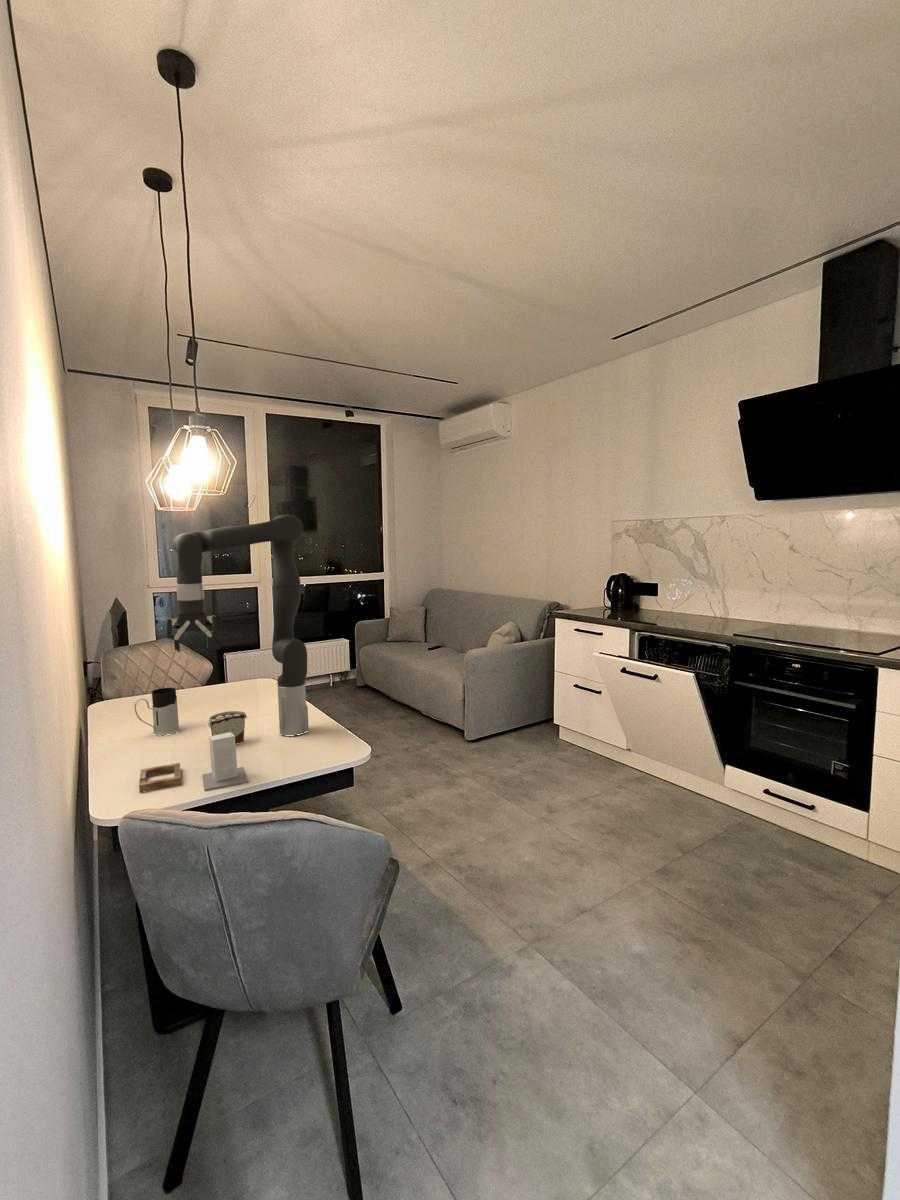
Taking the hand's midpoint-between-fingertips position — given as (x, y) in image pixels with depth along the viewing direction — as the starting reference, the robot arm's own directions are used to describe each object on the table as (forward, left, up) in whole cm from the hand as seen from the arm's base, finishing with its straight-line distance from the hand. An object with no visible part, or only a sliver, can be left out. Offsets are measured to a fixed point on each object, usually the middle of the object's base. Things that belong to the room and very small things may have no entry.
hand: (194, 650), depth 171 cm
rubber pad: (-5, +25, -33) cm, 42 cm away
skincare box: (-5, +25, -33) cm, 41 cm away
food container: (-8, -5, -33) cm, 35 cm away
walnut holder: (+11, +17, -33) cm, 39 cm away
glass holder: (+12, -27, -33) cm, 45 cm away
